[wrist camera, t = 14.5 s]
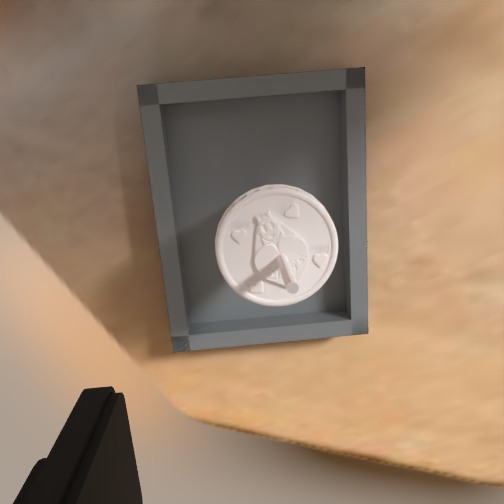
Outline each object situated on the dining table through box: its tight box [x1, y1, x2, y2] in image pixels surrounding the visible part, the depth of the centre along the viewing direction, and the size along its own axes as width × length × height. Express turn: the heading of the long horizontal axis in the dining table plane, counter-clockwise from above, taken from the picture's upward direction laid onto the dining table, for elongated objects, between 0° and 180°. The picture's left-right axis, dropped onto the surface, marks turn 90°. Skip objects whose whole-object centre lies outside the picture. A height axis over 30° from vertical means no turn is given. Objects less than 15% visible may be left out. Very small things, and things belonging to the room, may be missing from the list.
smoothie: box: [215, 184, 338, 306], centre depth 27 cm, size 6×6×14 cm
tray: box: [137, 67, 368, 352], centre depth 33 cm, size 18×14×3 cm
